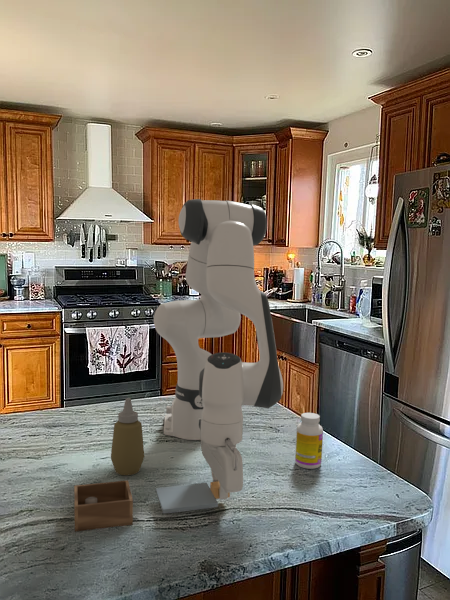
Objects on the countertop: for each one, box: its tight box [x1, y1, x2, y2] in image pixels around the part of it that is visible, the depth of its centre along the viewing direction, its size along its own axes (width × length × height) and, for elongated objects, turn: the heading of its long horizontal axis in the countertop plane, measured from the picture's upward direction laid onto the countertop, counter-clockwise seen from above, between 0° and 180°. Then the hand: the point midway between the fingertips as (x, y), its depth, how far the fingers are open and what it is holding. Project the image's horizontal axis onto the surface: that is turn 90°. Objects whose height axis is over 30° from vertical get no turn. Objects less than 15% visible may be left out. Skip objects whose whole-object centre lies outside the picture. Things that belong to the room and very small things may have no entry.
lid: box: [154, 481, 231, 514], centre depth 111 cm, size 9×15×3 cm, turn 106°
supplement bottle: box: [294, 412, 324, 470], centre depth 133 cm, size 7×7×13 cm
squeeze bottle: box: [110, 397, 145, 476], centre depth 126 cm, size 8×8×18 cm
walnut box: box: [73, 479, 134, 533], centre depth 106 cm, size 9×11×5 cm
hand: (220, 492), depth 113 cm, fingers closed on lid, 3 cm apart
